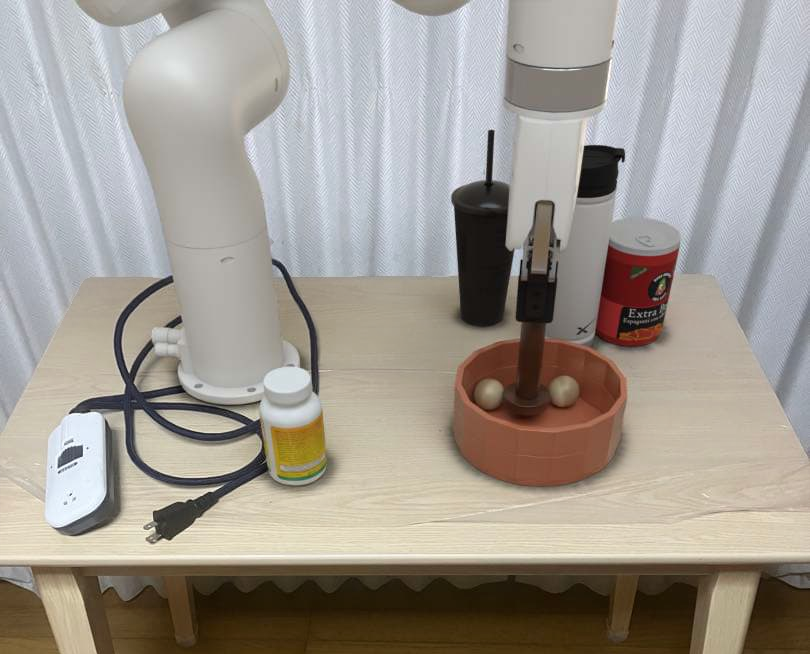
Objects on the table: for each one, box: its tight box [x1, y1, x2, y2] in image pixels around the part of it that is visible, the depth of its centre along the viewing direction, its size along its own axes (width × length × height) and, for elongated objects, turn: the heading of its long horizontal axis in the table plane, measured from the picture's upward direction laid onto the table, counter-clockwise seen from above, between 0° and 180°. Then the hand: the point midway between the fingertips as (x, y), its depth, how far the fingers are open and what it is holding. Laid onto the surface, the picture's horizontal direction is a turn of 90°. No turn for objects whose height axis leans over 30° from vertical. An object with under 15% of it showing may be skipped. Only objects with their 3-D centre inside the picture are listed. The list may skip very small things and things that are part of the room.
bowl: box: [453, 337, 628, 487], centre depth 79 cm, size 15×15×6 cm
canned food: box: [595, 217, 682, 347], centre depth 92 cm, size 8×8×11 cm
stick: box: [503, 253, 551, 415], centre depth 77 cm, size 4×4×15 cm
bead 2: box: [548, 376, 579, 407], centre depth 83 cm, size 3×3×3 cm
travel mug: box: [545, 144, 626, 348], centre depth 87 cm, size 6×7×20 cm
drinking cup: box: [450, 129, 516, 327], centre depth 91 cm, size 8×8×20 cm
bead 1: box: [473, 378, 504, 410], centre depth 83 cm, size 3×3×3 cm
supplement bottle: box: [258, 367, 328, 486], centre depth 75 cm, size 5×5×10 cm
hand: (534, 311), depth 75 cm, fingers closed on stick, 2 cm apart
